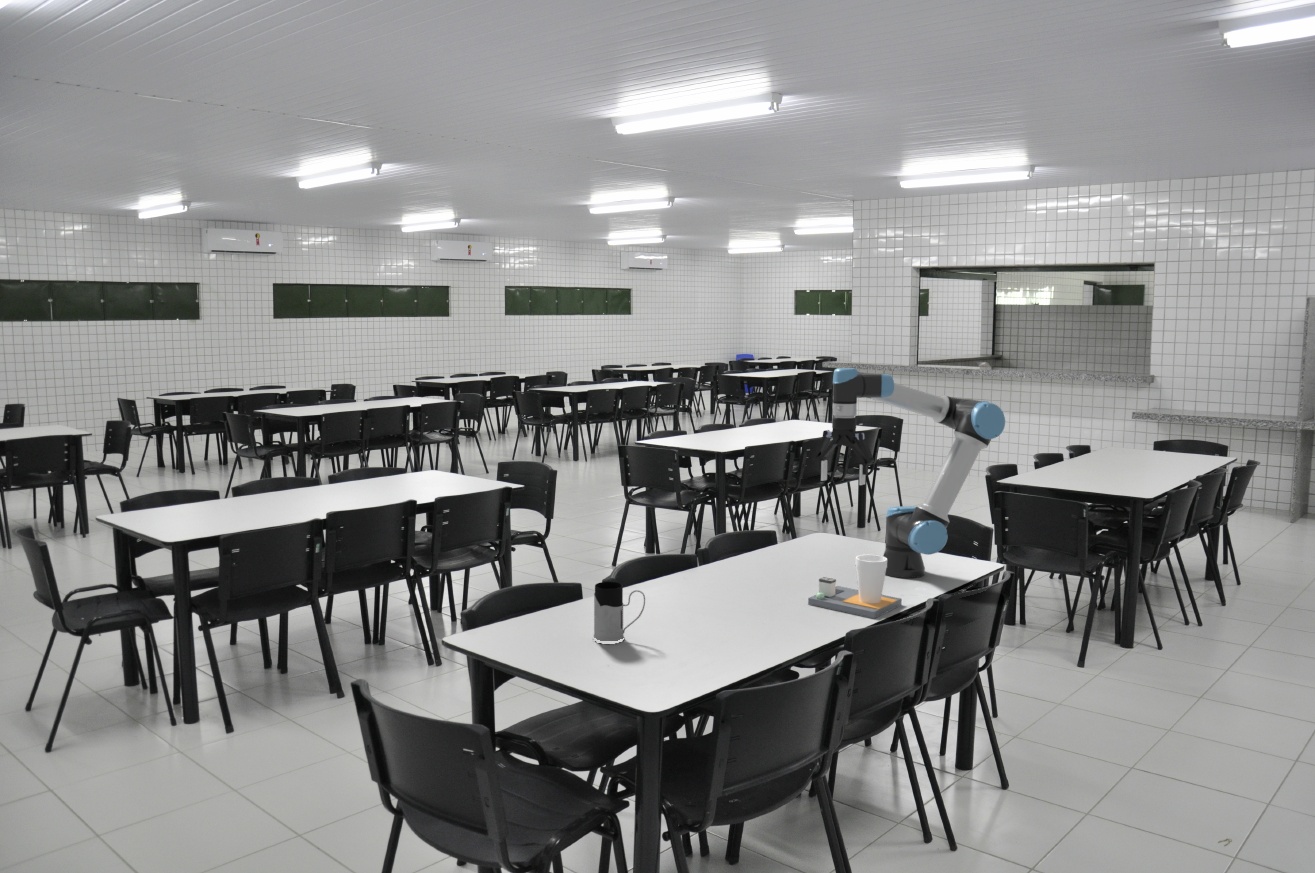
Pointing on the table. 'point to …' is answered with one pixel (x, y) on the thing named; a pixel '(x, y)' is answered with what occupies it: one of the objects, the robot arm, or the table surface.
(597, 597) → the glass holder
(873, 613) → the grey flat block
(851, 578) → the table surface
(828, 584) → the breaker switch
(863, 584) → the foam cup
